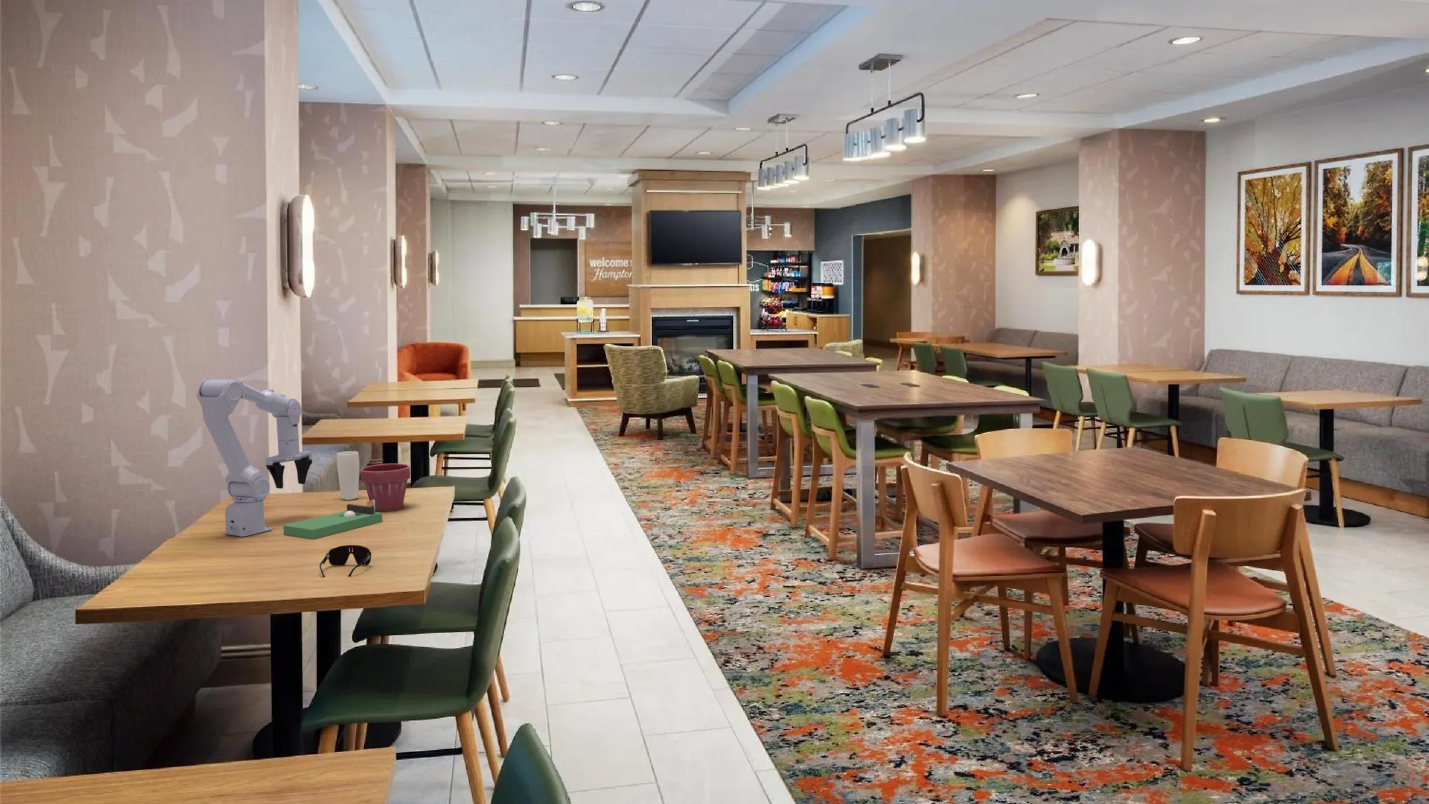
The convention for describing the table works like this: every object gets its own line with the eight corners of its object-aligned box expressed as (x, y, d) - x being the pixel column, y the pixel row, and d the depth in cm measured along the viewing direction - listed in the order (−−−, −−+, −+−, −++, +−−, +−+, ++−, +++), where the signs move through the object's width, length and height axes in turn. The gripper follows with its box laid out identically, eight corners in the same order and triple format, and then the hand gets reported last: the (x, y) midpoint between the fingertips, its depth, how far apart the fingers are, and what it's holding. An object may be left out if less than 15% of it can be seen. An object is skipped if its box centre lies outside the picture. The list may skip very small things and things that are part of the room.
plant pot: (361, 514, 308) (359, 472, 306) (363, 505, 321) (361, 464, 320) (411, 511, 311) (409, 469, 310) (411, 502, 325) (410, 462, 323)
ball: (351, 526, 294) (351, 515, 293) (340, 523, 295) (340, 512, 294) (358, 521, 298) (359, 510, 296) (347, 518, 298) (348, 507, 297)
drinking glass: (364, 497, 334) (362, 451, 333) (355, 501, 328) (353, 454, 326) (344, 496, 335) (342, 451, 333) (334, 501, 328) (332, 454, 327)
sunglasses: (374, 563, 251) (372, 544, 250) (359, 583, 240) (357, 563, 239) (330, 564, 251) (328, 545, 250) (313, 584, 239) (311, 564, 238)
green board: (313, 539, 277) (312, 515, 276) (283, 534, 283) (282, 511, 282) (382, 521, 298) (381, 499, 297) (353, 517, 304) (352, 495, 303)
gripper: (275, 443, 291) (278, 491, 292) (318, 437, 304) (320, 482, 305) (259, 442, 294) (262, 489, 296) (302, 435, 307) (304, 481, 308)
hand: (290, 486), depth 301 cm, fingers open, 7 cm apart
